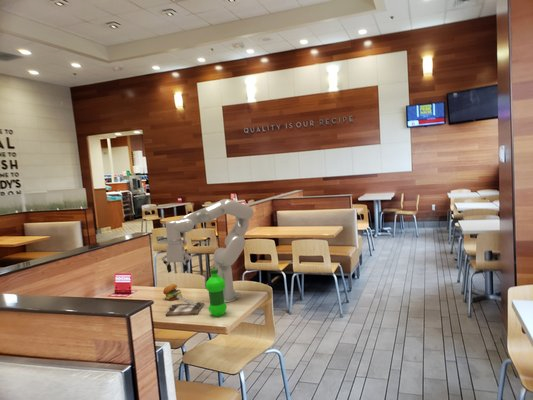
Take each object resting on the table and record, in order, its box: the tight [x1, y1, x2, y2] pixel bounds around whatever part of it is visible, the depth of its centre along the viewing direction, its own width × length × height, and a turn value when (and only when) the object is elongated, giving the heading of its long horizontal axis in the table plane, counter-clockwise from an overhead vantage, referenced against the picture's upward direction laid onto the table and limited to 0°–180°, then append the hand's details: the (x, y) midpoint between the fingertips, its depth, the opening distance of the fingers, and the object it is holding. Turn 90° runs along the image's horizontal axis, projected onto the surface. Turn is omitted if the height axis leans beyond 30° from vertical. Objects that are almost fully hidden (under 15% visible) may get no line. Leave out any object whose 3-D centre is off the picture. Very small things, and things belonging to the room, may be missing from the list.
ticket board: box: [164, 301, 205, 318], centre depth 222 cm, size 18×16×3 cm
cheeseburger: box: [163, 283, 183, 301], centre depth 246 cm, size 10×11×10 cm
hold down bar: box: [174, 294, 197, 307], centre depth 222 cm, size 15×2×1 cm, turn 85°
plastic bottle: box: [205, 268, 228, 317], centre depth 211 cm, size 10×10×25 cm
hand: (177, 271), depth 222 cm, fingers open, 9 cm apart
